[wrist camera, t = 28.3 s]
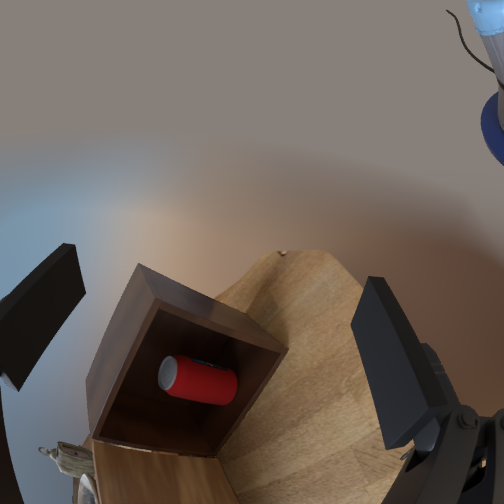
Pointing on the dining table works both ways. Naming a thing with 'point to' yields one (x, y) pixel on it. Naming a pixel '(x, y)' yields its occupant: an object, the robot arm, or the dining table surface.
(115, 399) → the cabinet
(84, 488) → the bowl
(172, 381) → the beverage can
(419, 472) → the robot arm
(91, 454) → the grey bell
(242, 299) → the dining table surface
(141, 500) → the cabinet door
